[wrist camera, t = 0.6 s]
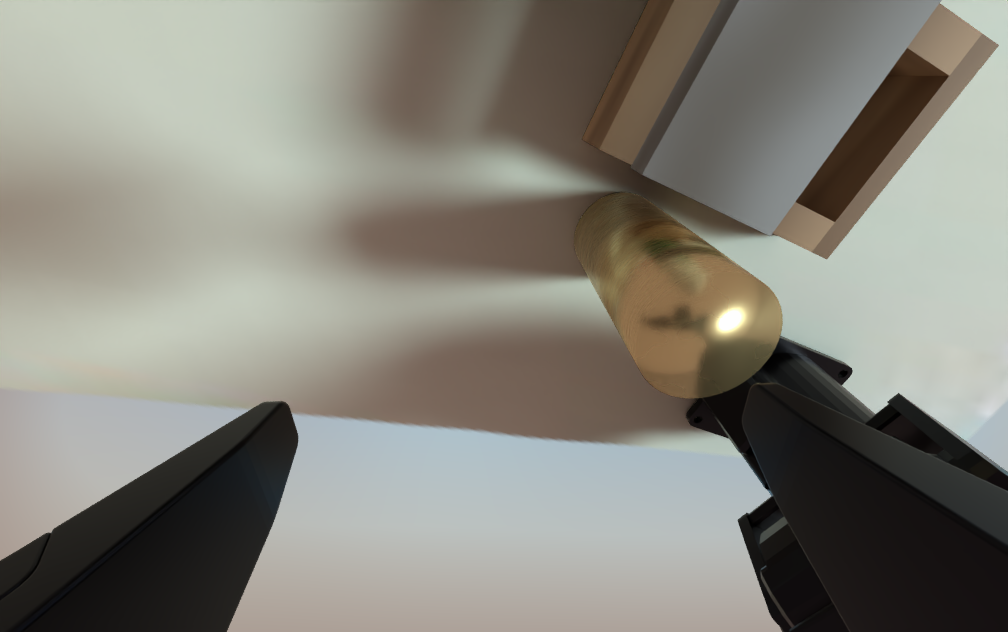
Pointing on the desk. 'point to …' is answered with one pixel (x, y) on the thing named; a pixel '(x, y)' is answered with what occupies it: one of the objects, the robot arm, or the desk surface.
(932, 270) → the desk surface
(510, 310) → the desk surface
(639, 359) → the peg
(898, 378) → the desk surface
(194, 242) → the desk surface
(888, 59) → the socket block
